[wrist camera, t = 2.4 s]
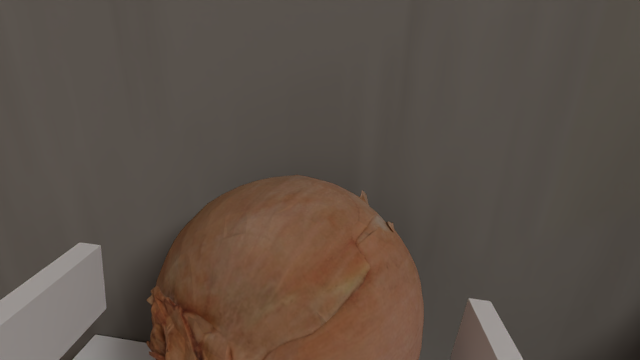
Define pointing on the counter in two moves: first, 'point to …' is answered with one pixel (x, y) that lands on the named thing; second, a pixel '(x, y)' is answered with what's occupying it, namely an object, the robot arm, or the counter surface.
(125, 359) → the low wall
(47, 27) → the counter surface
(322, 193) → the onion
